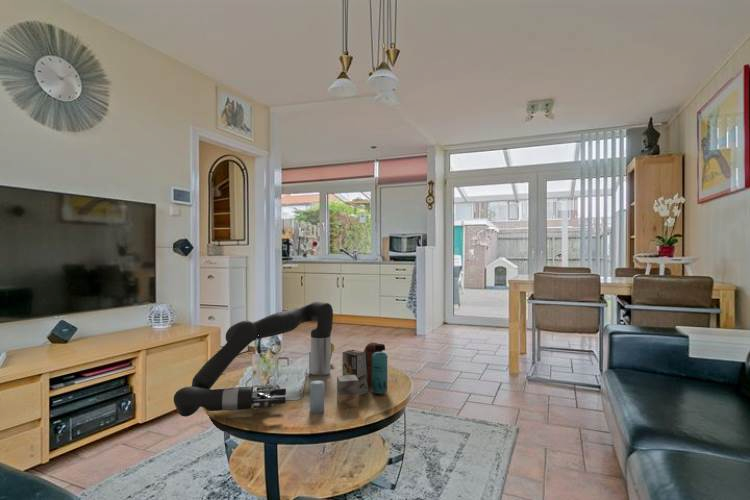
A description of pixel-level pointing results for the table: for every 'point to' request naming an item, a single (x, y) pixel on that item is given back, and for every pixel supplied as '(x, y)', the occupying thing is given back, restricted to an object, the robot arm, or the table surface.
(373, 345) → the wooden figurine
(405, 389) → the table surface
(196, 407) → the robot arm
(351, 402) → the tower base
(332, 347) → the plant pot
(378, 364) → the beverage bottle
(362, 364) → the coffee box
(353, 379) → the tower top
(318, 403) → the dowel
